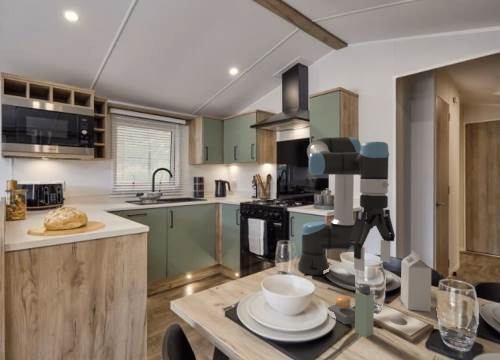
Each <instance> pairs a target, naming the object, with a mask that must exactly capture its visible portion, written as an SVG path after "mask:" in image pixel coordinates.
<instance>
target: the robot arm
mask: <svg viewBox="0 0 500 360" xmlns="http://www.w3.org/2000/svg"><path fill="white" fill-rule="evenodd" d="M389 152H390V151H389V144H388V143H387V142H385V141H368V142H364V143H362V144H361V142H360V140H359V139H358V138H357V137H355V136H354V137H352V136H351V137H350V136H346V137H345V136H342V137H341V136H339V137H337V136H336V137H321V138H317V139H315V140H313V141H312V142H310V143H309V145H308V146H307V148H306V155H307V157H308V173H310V174H311V175H318V176H321V175H326V176H328V175H329V176H330V175H332V176H333V175H334V197H333V198H334V201H333V202H334V204H333V205H334V207H333V219H332V220H331V221H330V225H329V224H327V223H326V221H312V222H311V221H310V222H306V223H303V225H302V228H301V254H300V258H299V261H298V263H297V270H298V271H299V272H301V273H303V274H306V275H310V276H323V275H322V274H323V271H324V270H326V269H328V268H329V267H330V265H329V262H328V258H327V250H329V251H331V250H332V251H333V250H334V251H345V252H347V251H351V252H353V258H354V259H353V262H354V263H353V269H355V270H357V271H361V272H365V254H366V253H365V251H366V250H365V247H364V244H365V242H366V240H367V238H368V235H369V234H370V231H371V230H372V229H373V228H374V227H376V228H377V229H376V230H377V231H378V233H379V235H380V236H381V239H380V256H379V257H380V262H384V263H388V264H390V263H391V242H394V241H395V238H396V234H395V230H394V227H393V222H392V219H391V211H390V209H387V208H388V207H389V206H388V205H389V196H388V195H386V194H388V193H389V189H388V188H389V186H390V185H389V180H388V179H389V158H390V153H389ZM357 175H358V176H360V178H359V179H360V180H359V181H360V182H359V192H360V195H359V205H360V206H359V207H361V208H363V211H356V212H355V220H354V186H355V185H354V177H355V176H357Z"/></svg>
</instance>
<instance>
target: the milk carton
mask: <svg viewBox="0 0 500 360" xmlns="http://www.w3.org/2000/svg"><path fill="white" fill-rule="evenodd" d="M421 258H422V257H421V255H419V254H418V253H417V252H415V251H414V250H411V253H410V254H409V255H407V256H406V257H404V258H403V259H402V260H401V261H400V262H401V268H400V269H401V272H400V273H401V275H400V276H401V277H400V301H401V302H402V304H403V305H404V307H405V308H406V309H407V310H410V311H419V312H420V311H421V312H430V313H431V312H432V310H431V309H432V307H431V306H432V302H431V301H432V268H431V266H429V265H428V264H427V263H425V262H424V261H423V260H422V259H421Z"/></svg>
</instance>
